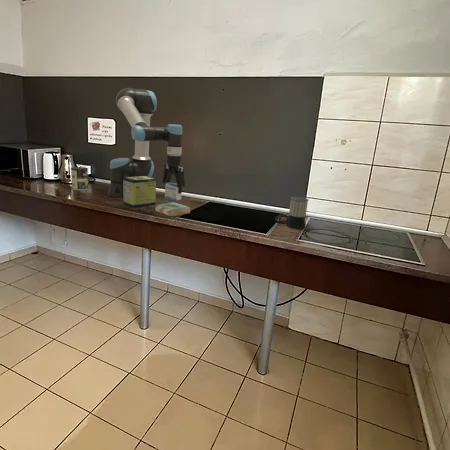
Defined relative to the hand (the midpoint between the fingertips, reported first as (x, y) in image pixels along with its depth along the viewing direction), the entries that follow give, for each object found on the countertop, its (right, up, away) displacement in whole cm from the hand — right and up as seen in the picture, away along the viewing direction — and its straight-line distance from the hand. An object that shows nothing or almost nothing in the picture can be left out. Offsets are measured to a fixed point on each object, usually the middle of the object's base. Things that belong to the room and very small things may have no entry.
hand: (173, 197), depth 179 cm
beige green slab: (-1, -8, +2) cm, 8 cm away
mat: (0, -5, +1) cm, 5 cm away
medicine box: (0, -1, 0) cm, 1 cm away
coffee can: (-69, +9, +43) cm, 82 cm away
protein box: (-22, -3, +14) cm, 26 cm away
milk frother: (+62, -15, -5) cm, 64 cm away
